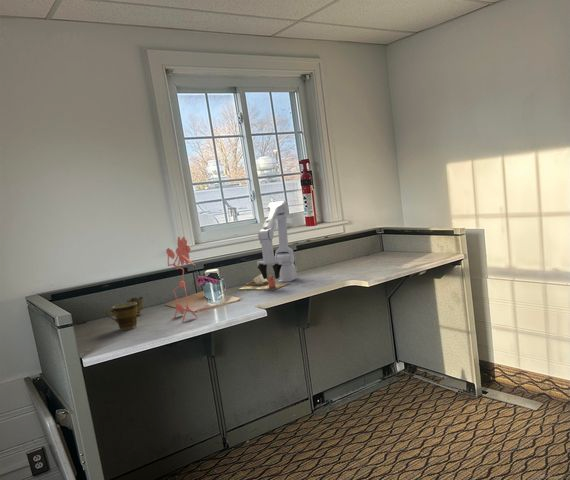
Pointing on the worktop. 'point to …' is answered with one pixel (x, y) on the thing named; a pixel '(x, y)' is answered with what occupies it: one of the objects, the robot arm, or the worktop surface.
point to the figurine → (183, 256)
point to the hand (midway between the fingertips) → (271, 278)
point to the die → (259, 279)
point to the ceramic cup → (125, 315)
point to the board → (261, 286)
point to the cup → (139, 304)
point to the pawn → (271, 282)
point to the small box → (212, 272)
